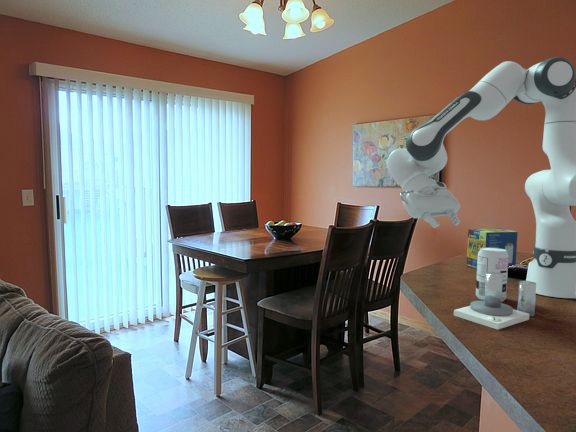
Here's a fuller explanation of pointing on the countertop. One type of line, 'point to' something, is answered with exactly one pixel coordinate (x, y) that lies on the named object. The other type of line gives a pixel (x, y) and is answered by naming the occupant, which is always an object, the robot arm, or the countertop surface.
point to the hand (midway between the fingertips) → (447, 225)
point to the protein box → (491, 243)
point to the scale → (491, 315)
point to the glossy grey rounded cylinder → (493, 290)
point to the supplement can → (491, 269)
